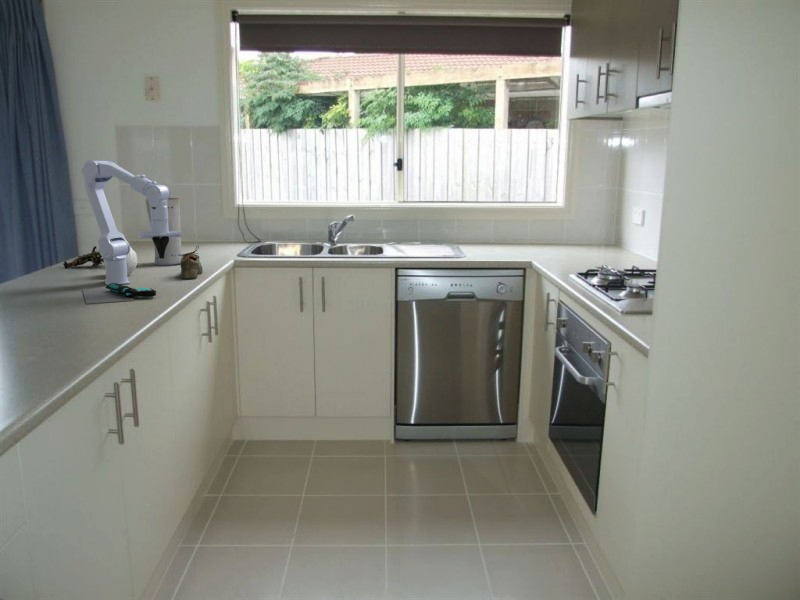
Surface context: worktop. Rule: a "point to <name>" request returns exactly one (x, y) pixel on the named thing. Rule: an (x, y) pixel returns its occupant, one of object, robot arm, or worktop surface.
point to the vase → (174, 242)
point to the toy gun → (131, 291)
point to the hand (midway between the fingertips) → (161, 258)
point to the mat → (103, 296)
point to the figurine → (87, 259)
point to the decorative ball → (130, 261)
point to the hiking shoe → (190, 265)
